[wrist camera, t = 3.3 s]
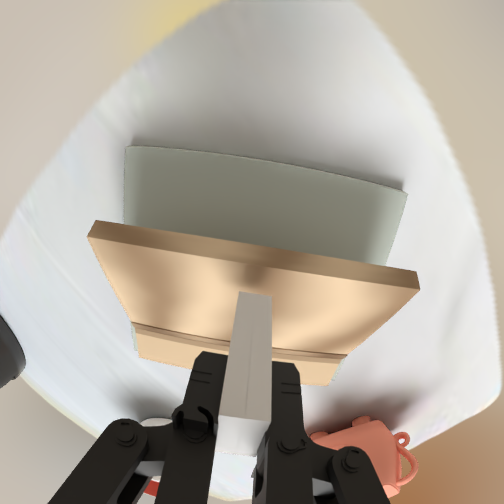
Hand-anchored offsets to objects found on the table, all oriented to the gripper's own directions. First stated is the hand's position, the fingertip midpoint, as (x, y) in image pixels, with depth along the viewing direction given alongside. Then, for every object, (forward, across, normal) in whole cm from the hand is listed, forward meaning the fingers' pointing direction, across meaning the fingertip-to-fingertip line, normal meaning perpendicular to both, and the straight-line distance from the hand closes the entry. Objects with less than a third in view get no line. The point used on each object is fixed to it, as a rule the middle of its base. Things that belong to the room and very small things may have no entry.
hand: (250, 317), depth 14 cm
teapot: (+9, +17, -27) cm, 33 cm away
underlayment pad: (+9, 0, -4) cm, 10 cm away
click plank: (+5, 0, -3) cm, 6 cm away
